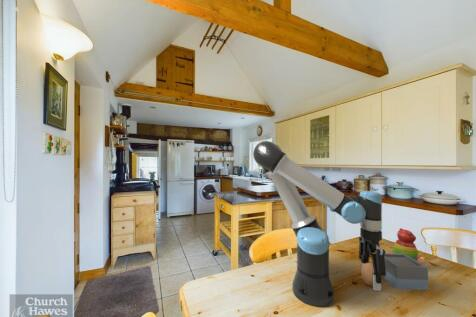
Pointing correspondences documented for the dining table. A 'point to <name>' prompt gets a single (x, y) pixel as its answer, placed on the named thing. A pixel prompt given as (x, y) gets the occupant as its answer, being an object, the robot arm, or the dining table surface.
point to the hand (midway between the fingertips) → (371, 284)
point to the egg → (368, 273)
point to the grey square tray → (405, 272)
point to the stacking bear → (406, 244)
